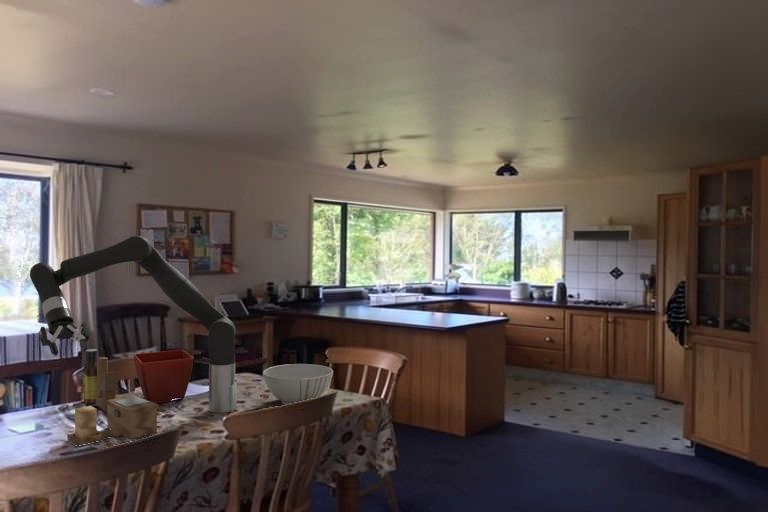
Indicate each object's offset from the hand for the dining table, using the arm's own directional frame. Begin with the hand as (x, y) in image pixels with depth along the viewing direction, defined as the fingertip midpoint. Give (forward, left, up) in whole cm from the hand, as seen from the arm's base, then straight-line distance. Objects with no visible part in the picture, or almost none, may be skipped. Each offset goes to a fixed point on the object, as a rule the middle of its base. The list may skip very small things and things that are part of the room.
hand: (70, 352), depth 196 cm
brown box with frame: (-14, +2, -26) cm, 29 cm away
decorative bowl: (-67, -40, -26) cm, 82 cm away
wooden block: (+2, -28, -26) cm, 39 cm away
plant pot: (-14, -42, -26) cm, 52 cm away
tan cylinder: (-9, +8, -26) cm, 28 cm away
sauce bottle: (+11, -36, -26) cm, 46 cm away
